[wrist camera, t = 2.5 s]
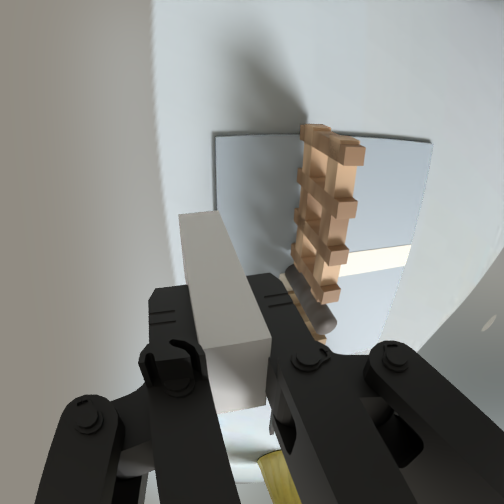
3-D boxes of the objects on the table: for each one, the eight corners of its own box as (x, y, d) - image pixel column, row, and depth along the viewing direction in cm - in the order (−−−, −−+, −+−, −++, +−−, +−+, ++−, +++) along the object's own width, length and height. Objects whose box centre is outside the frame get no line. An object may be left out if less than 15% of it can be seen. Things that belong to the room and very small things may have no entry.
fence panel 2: (285, 264, 26) (317, 319, 20) (304, 262, 26) (339, 315, 21) (275, 366, 32) (294, 417, 27) (289, 363, 33) (310, 412, 27)
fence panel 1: (304, 256, 25) (337, 305, 20) (290, 257, 25) (320, 308, 20) (317, 122, 20) (366, 143, 15) (300, 121, 20) (346, 142, 15)
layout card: (215, 136, 20) (216, 137, 19) (431, 143, 23) (433, 144, 23) (225, 378, 32) (226, 380, 32) (374, 345, 36) (376, 347, 36)
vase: (297, 451, 49) (323, 518, 37) (271, 465, 50) (293, 529, 39) (277, 447, 46) (303, 521, 34) (249, 461, 47) (271, 532, 35)
